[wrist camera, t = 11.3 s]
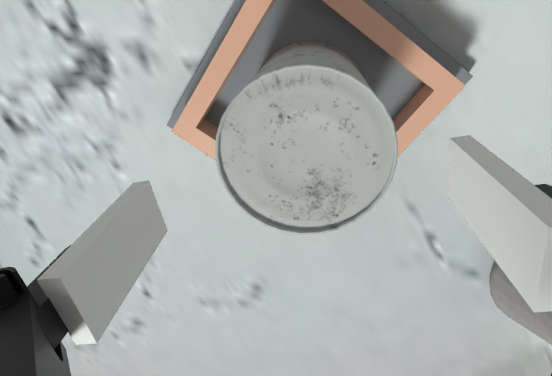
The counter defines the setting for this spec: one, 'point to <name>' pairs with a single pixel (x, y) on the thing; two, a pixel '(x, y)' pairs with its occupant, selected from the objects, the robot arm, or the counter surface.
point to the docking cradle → (335, 32)
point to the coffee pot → (518, 305)
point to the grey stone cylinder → (306, 142)
